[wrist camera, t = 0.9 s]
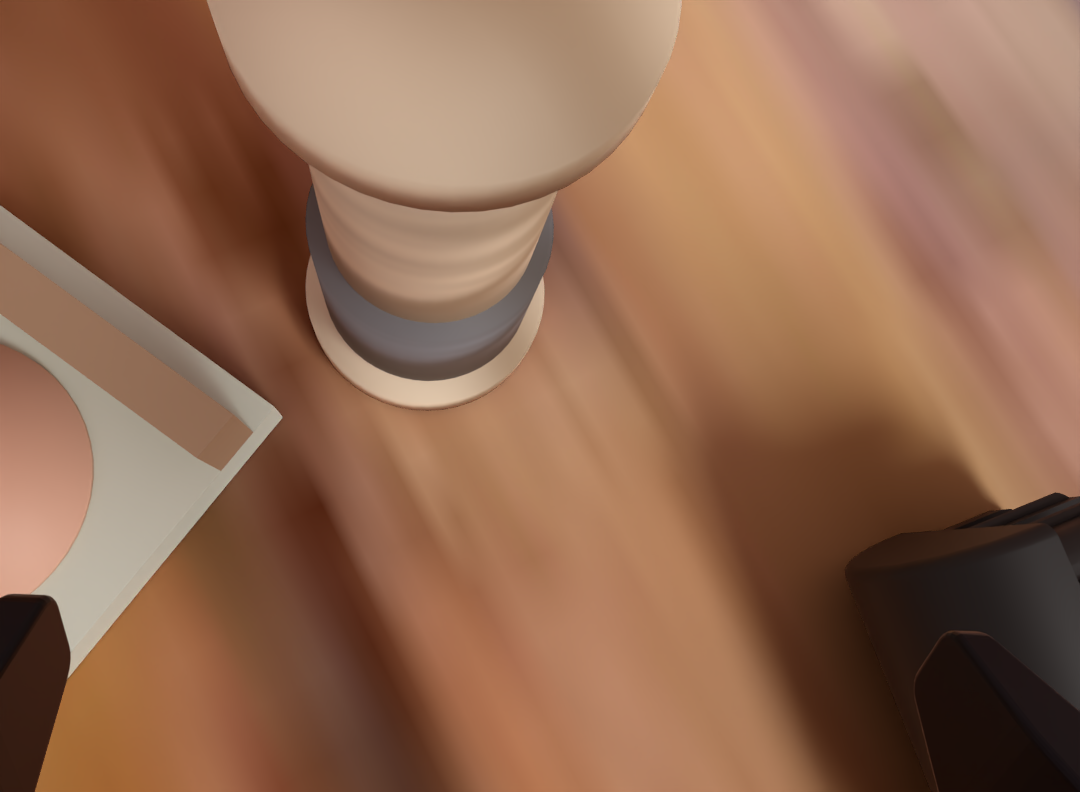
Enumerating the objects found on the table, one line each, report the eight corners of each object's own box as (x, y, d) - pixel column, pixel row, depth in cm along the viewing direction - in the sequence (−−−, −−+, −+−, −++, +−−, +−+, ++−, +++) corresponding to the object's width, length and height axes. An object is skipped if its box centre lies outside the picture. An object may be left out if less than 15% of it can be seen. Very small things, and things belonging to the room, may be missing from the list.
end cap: (790, 571, 24) (932, 571, 18) (996, 489, 26) (1197, 462, 19) (931, 930, 23) (1141, 1075, 16) (1140, 822, 24) (1409, 915, 18)
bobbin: (450, 456, 23) (508, 305, 10) (260, 317, 23) (64, -21, 10) (581, 281, 25) (784, -53, 12) (404, 150, 25) (402, -336, 12)
